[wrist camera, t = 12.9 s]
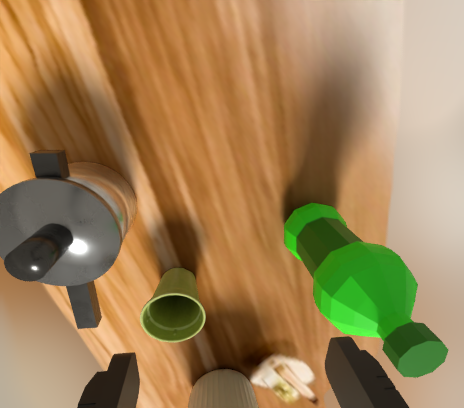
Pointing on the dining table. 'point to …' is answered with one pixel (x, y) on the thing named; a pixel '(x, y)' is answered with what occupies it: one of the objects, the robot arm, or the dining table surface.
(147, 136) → the dining table surface
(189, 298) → the plant pot
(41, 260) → the lid
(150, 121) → the dining table surface
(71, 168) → the cooker pot
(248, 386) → the canister
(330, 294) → the plastic bottle
